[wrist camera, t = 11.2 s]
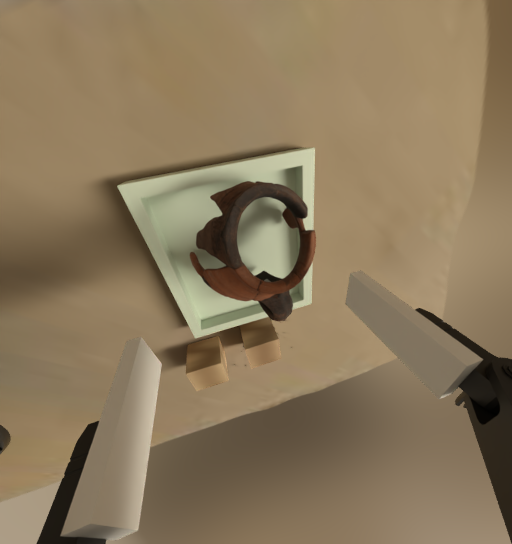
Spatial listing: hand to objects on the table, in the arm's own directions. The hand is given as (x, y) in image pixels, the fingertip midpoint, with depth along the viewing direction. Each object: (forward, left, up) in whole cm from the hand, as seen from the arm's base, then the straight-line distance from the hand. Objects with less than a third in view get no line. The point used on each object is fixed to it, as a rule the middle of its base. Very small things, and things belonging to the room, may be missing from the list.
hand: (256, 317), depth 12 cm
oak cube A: (-7, -13, -9) cm, 17 cm away
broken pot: (0, -1, -9) cm, 9 cm away
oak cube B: (0, -12, -9) cm, 15 cm away
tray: (0, 0, -9) cm, 9 cm away
